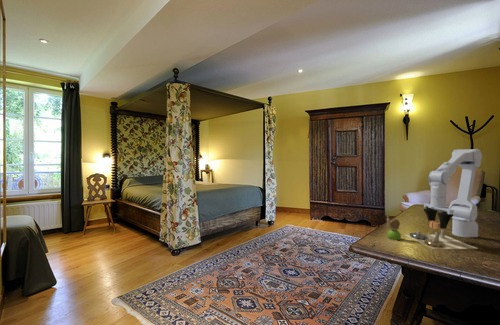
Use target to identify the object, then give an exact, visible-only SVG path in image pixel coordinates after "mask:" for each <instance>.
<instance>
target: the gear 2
mask: <svg viewBox="0 0 500 325" xmlns="http://www.w3.org/2000/svg"><path fill="white" fill-rule="evenodd" d="M424 243H426V245H430V246H432V247H437V248H439V247H442V248H444V247H445V243H443V242H440V241H438V240H436V243H434V241H432V239H430V240H427V239H426V240H424ZM426 245H425V246H426Z"/></svg>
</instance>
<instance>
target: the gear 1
mask: <svg viewBox="0 0 500 325" xmlns="http://www.w3.org/2000/svg"><path fill="white" fill-rule="evenodd" d="M409 235H410V236H411V237H412V238H415V239H420V240H426V239H428V236H426V235H427V234H423V233H421V232H420V235H417V232H410V233H409ZM412 238H411V239H412Z"/></svg>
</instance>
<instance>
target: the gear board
mask: <svg viewBox="0 0 500 325" xmlns="http://www.w3.org/2000/svg"><path fill="white" fill-rule="evenodd" d="M445 230H446V229H444V230H442V229H440V231H439V232H438V231H435V232H434V234H425V235H426V236H428V239H427V240H430V239H432V241H434V243H436V240H438V241H440V242H443V243H445V247H444V248H442V247H439V248H437V247H432V246H430V245H426V243H424V240H420V239H415V238H412V237H411V236H410V234H404V236H406V237H408V238H409V239H412V240H414V241H415V242H418V243H419V244H422V245H423V246H426V247H427V248H430V249H432V250H458V249H460V250H464V249H465V250H467V249H469V250H473V249H475V250H478V249H479V248H478V247H475V246H473V245H470V244H468V243H465V242H462V241H460V240H458V239H457V238H456V239H455V238H453V237H450V236H448V235H446V234H445V233H446V231H445ZM416 233H417V235H420V233H421V230H417V231H416Z"/></svg>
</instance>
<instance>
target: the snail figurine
mask: <svg viewBox="0 0 500 325" xmlns="http://www.w3.org/2000/svg"><path fill="white" fill-rule="evenodd" d="M389 217H390V216H389V215H386V222H387V227H388V228H389V229H390V230H388V231H387V238H388V239H390V240H393V241H399V240H401V237H402V236H401V233H400V231H399V229H400V225H401V223H400V221H399V220H398V219H395V218H394V219H392V220H391V219H390V218H389Z"/></svg>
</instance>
